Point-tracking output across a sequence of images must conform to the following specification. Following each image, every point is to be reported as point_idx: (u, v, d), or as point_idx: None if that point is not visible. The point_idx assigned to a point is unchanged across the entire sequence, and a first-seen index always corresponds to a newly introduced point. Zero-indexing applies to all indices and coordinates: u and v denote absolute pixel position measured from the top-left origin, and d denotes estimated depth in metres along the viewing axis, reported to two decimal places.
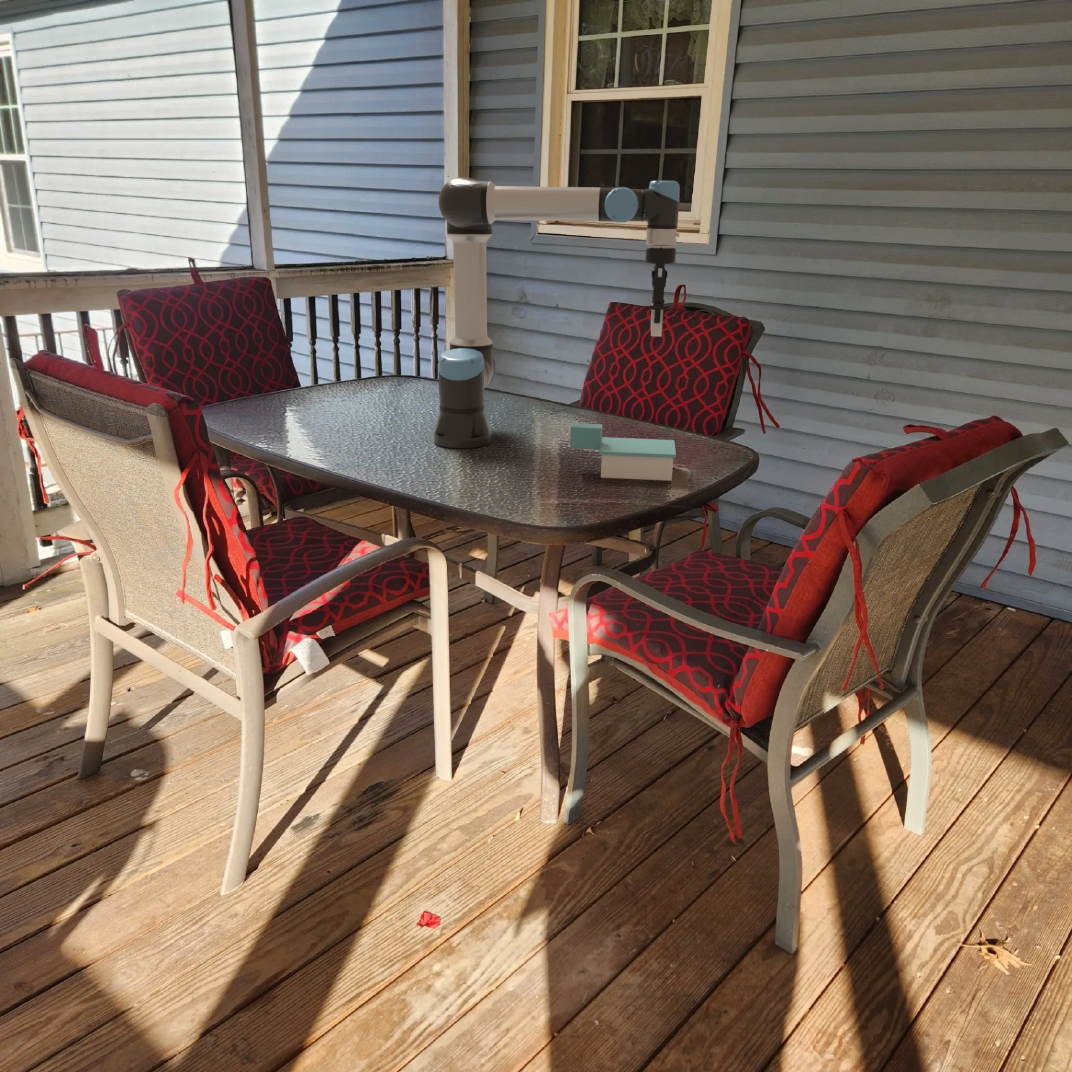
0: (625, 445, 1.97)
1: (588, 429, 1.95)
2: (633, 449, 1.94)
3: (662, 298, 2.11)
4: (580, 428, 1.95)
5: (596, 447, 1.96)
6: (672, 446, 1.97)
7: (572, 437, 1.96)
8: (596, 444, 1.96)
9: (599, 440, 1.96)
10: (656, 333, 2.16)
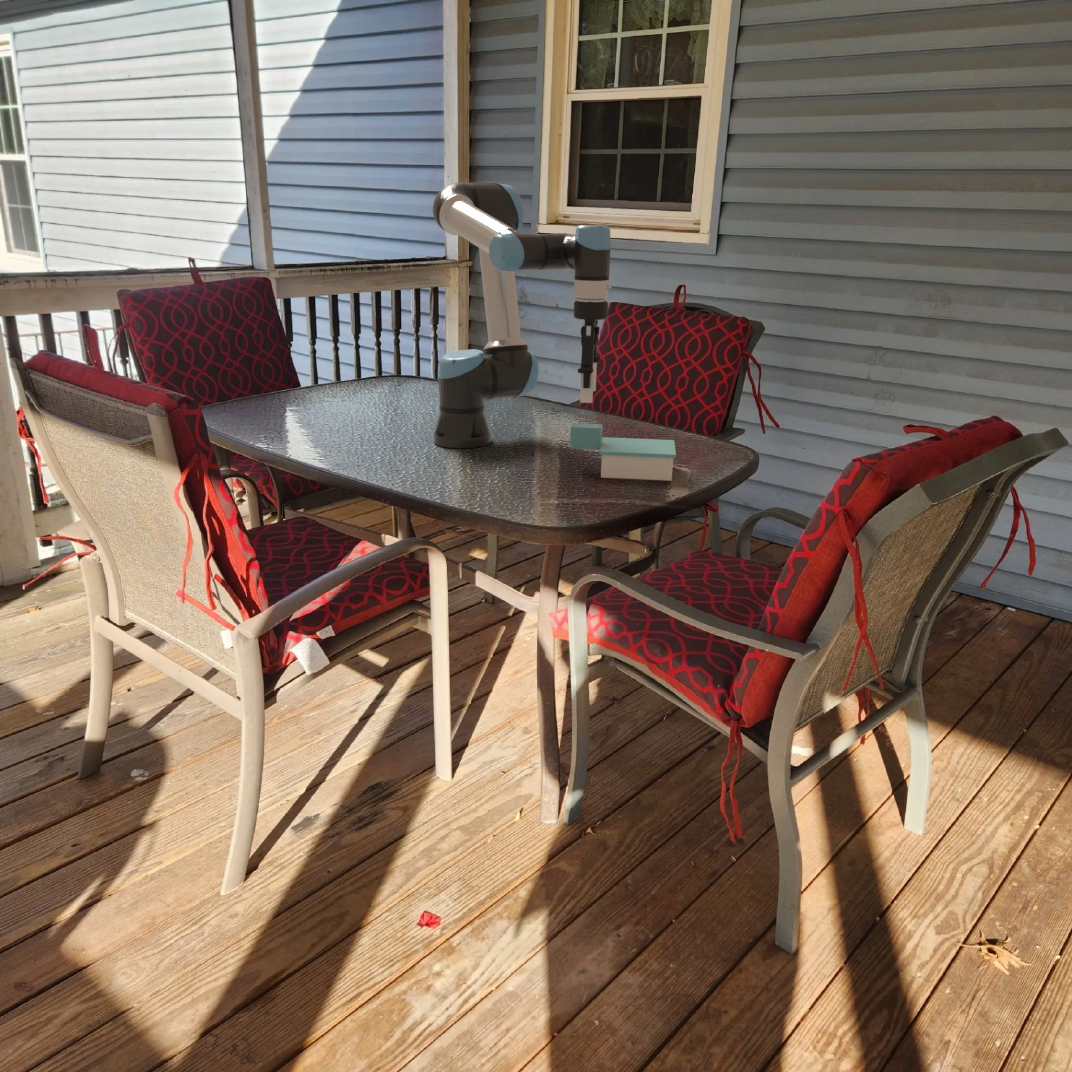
0: (625, 445, 1.97)
1: (588, 429, 1.95)
2: (633, 449, 1.94)
3: (591, 360, 1.82)
4: (580, 428, 1.95)
5: (596, 447, 1.96)
6: (672, 446, 1.97)
7: (572, 437, 1.96)
8: (596, 444, 1.96)
9: (599, 440, 1.96)
10: (586, 399, 1.87)
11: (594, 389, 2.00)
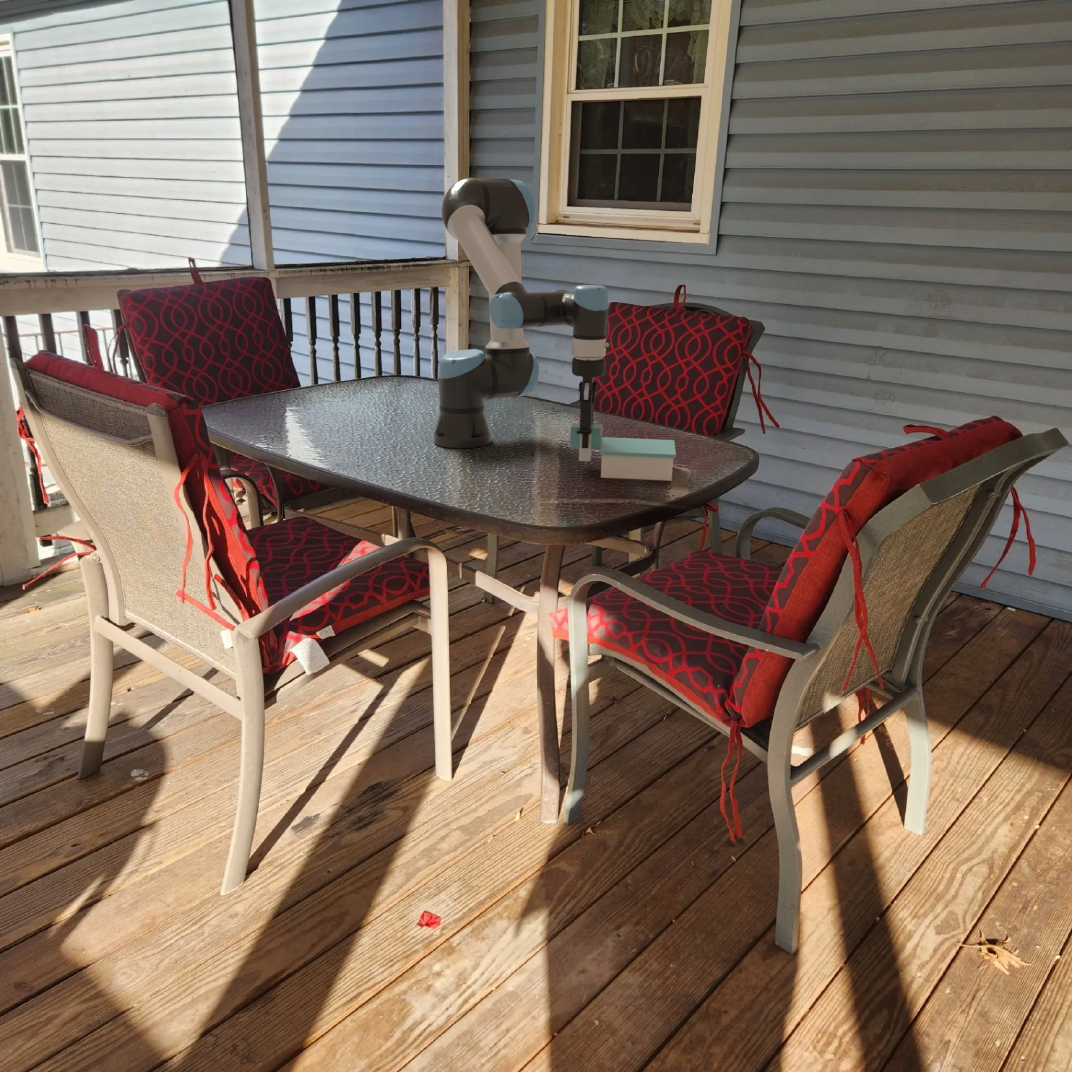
0: (625, 445, 1.97)
1: None
2: (633, 449, 1.94)
3: (589, 424, 1.91)
4: None
5: (596, 447, 1.96)
6: (672, 446, 1.97)
7: (572, 437, 1.96)
8: (596, 443, 1.96)
9: (599, 440, 1.96)
10: (585, 458, 1.97)
11: (590, 454, 2.01)
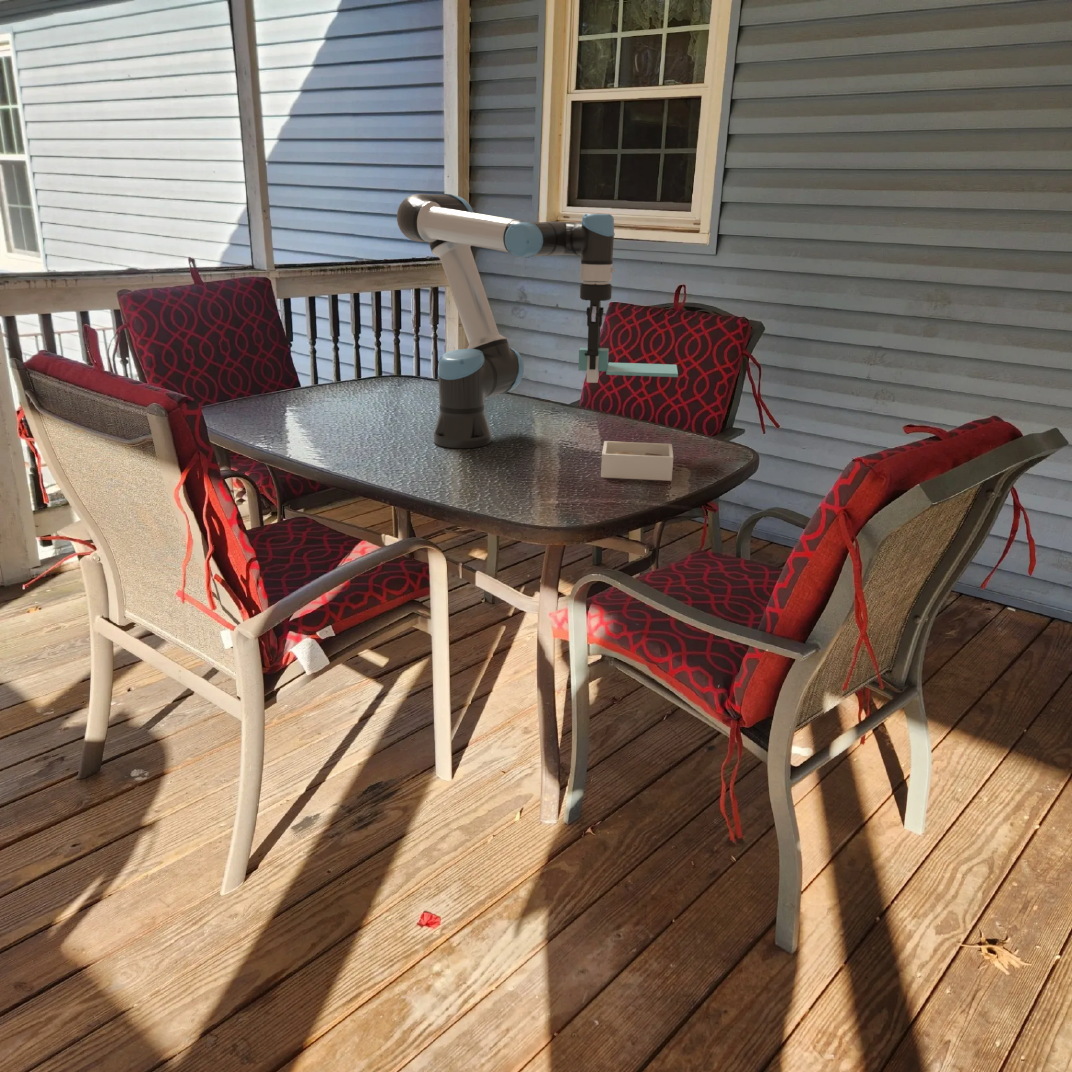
0: (630, 367, 2.09)
1: None
2: (638, 370, 2.06)
3: (596, 345, 2.03)
4: None
5: (603, 369, 2.09)
6: (674, 368, 2.09)
7: (580, 359, 2.09)
8: (602, 366, 2.08)
9: (606, 362, 2.08)
10: (592, 379, 2.09)
11: None
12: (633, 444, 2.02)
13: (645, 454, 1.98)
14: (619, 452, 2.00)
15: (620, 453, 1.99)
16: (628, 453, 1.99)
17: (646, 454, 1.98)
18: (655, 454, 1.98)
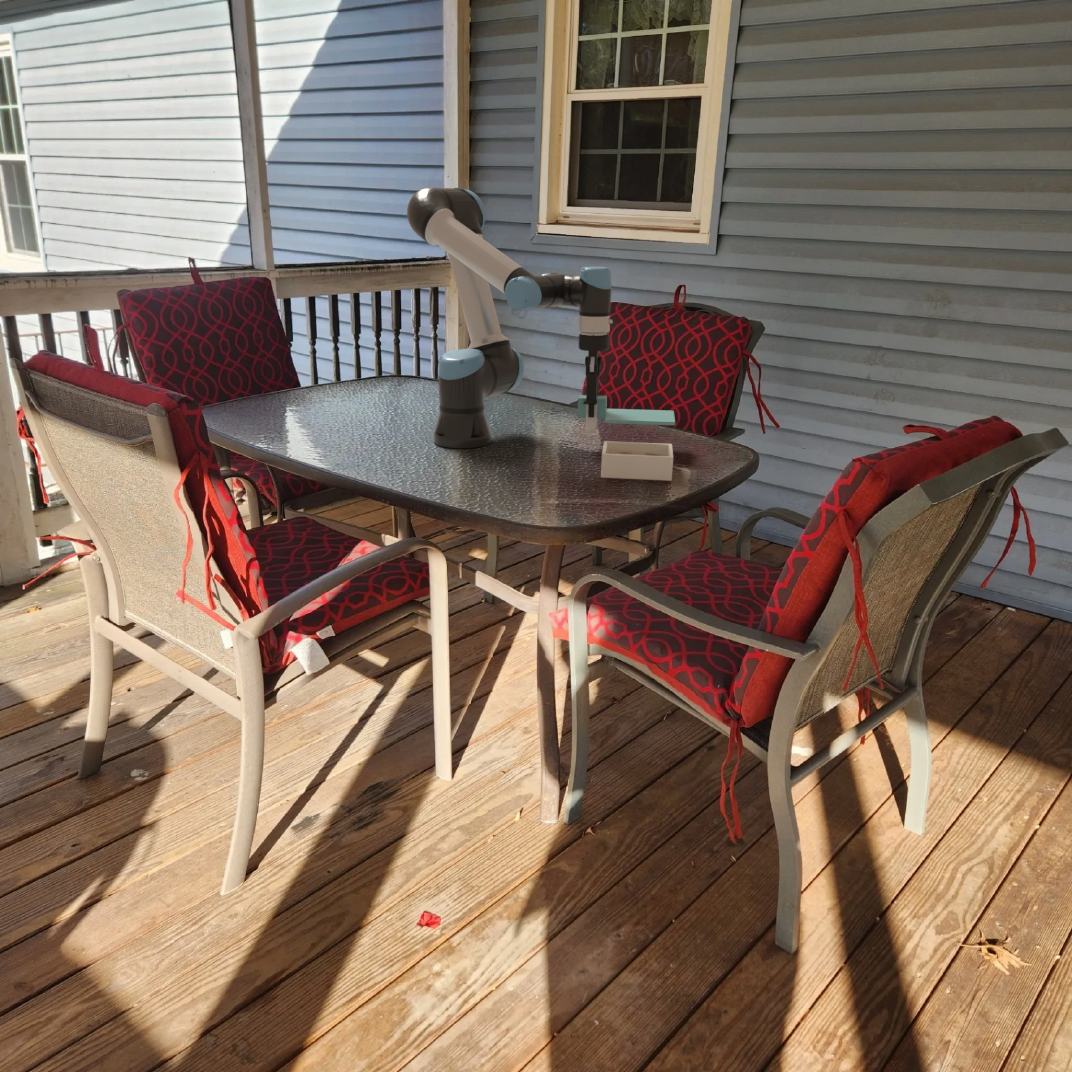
0: (628, 415, 2.14)
1: None
2: (635, 418, 2.10)
3: (595, 395, 2.07)
4: None
5: (601, 416, 2.13)
6: (671, 415, 2.13)
7: (579, 407, 2.13)
8: (601, 413, 2.13)
9: (604, 410, 2.12)
10: (591, 427, 2.13)
11: None
12: (633, 444, 2.02)
13: (645, 454, 1.98)
14: (619, 452, 2.00)
15: (620, 453, 1.99)
16: (628, 453, 1.99)
17: (646, 454, 1.98)
18: (655, 454, 1.98)
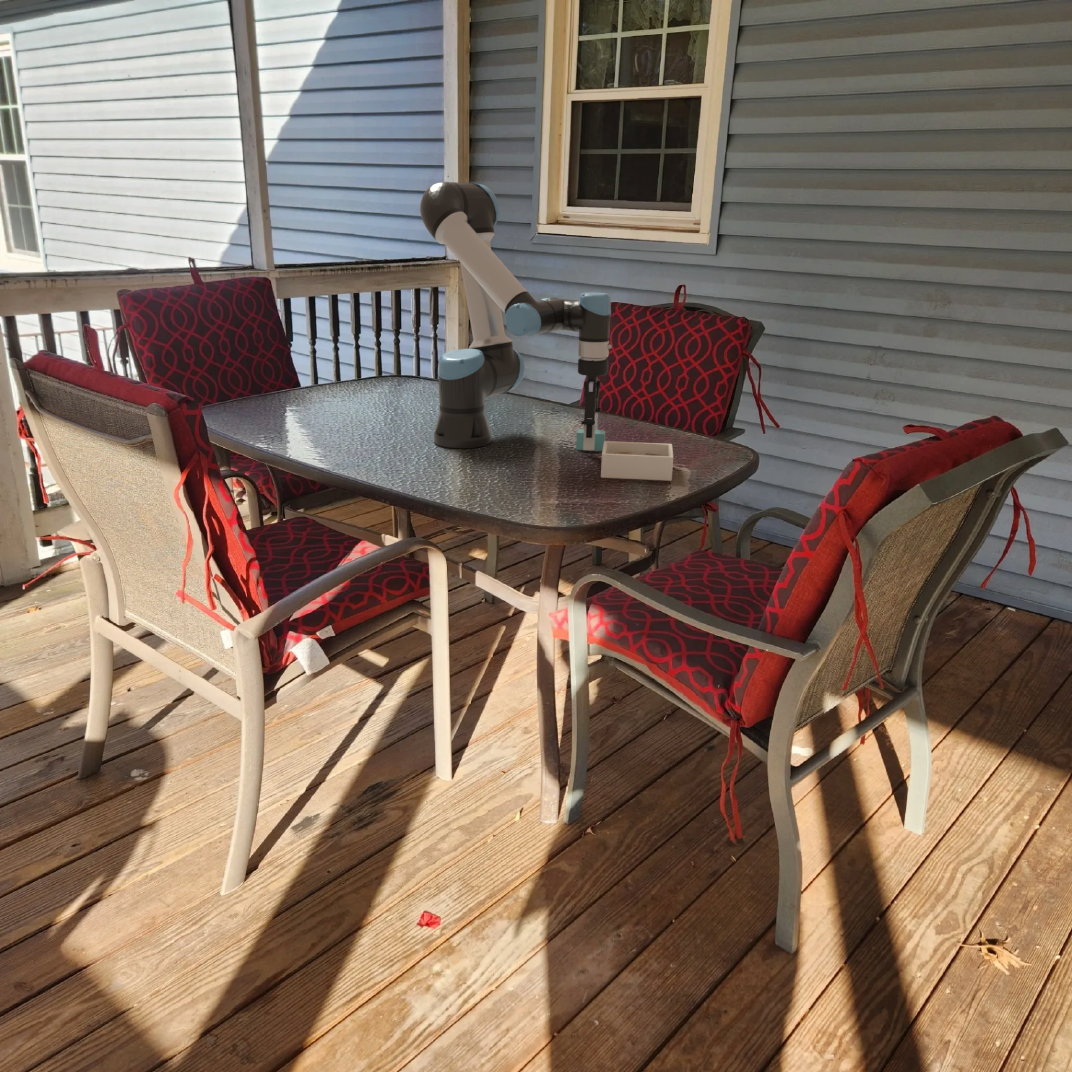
0: None
1: None
2: None
3: (593, 414, 2.06)
4: None
5: None
6: None
7: (578, 442, 2.16)
8: (599, 448, 2.16)
9: (602, 445, 2.15)
10: (589, 447, 2.11)
11: None
12: (633, 444, 2.02)
13: (645, 454, 1.98)
14: (619, 452, 2.00)
15: (620, 453, 1.99)
16: (628, 453, 1.99)
17: (646, 454, 1.98)
18: (655, 454, 1.98)
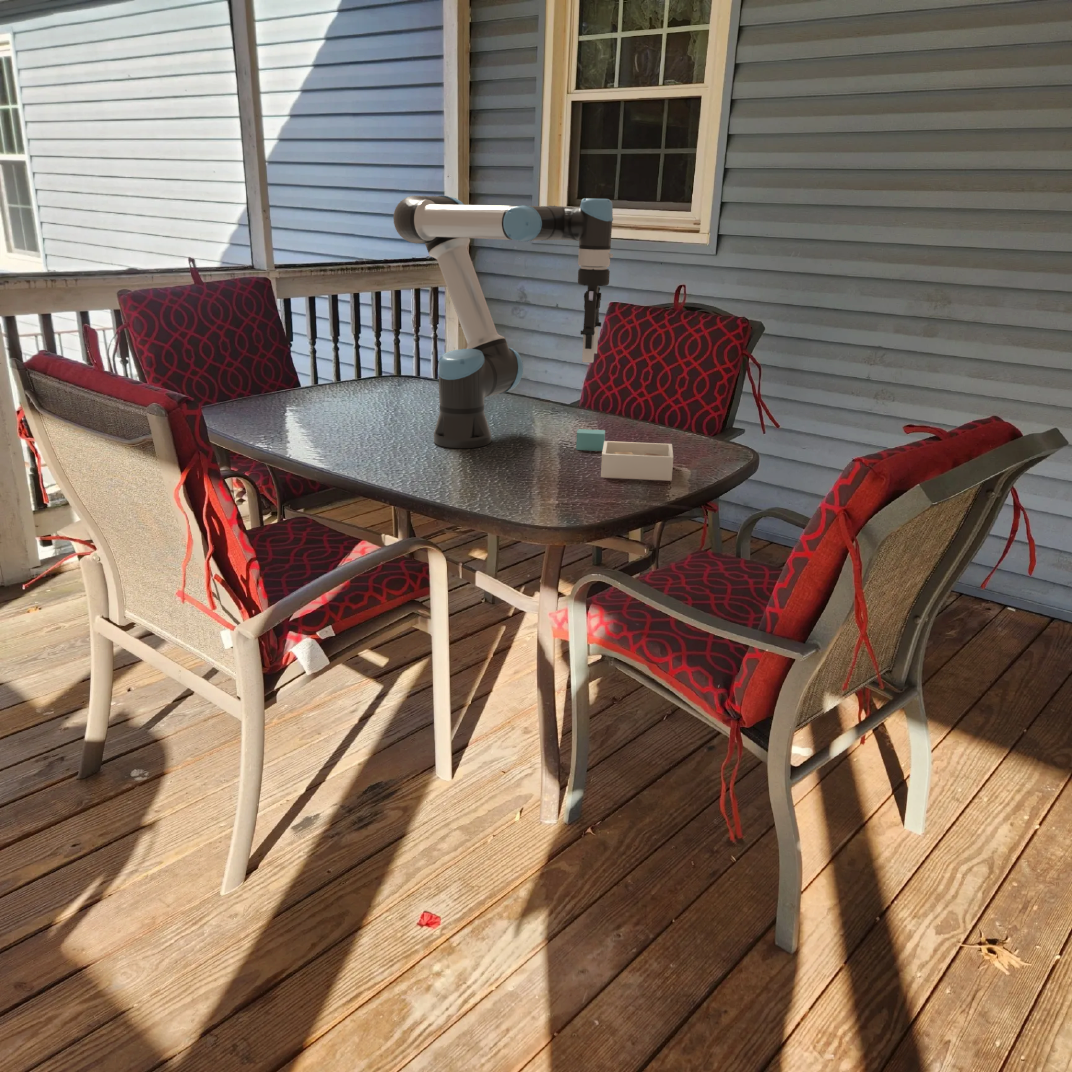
0: None
1: (592, 435, 2.15)
2: None
3: (592, 323, 1.99)
4: (585, 434, 2.15)
5: None
6: None
7: (578, 442, 2.16)
8: (599, 448, 2.16)
9: (602, 445, 2.15)
10: (588, 359, 2.04)
11: (595, 352, 2.17)
12: (633, 444, 2.02)
13: (645, 454, 1.98)
14: (619, 452, 2.00)
15: (620, 453, 1.99)
16: (628, 453, 1.99)
17: (646, 454, 1.98)
18: (655, 454, 1.98)
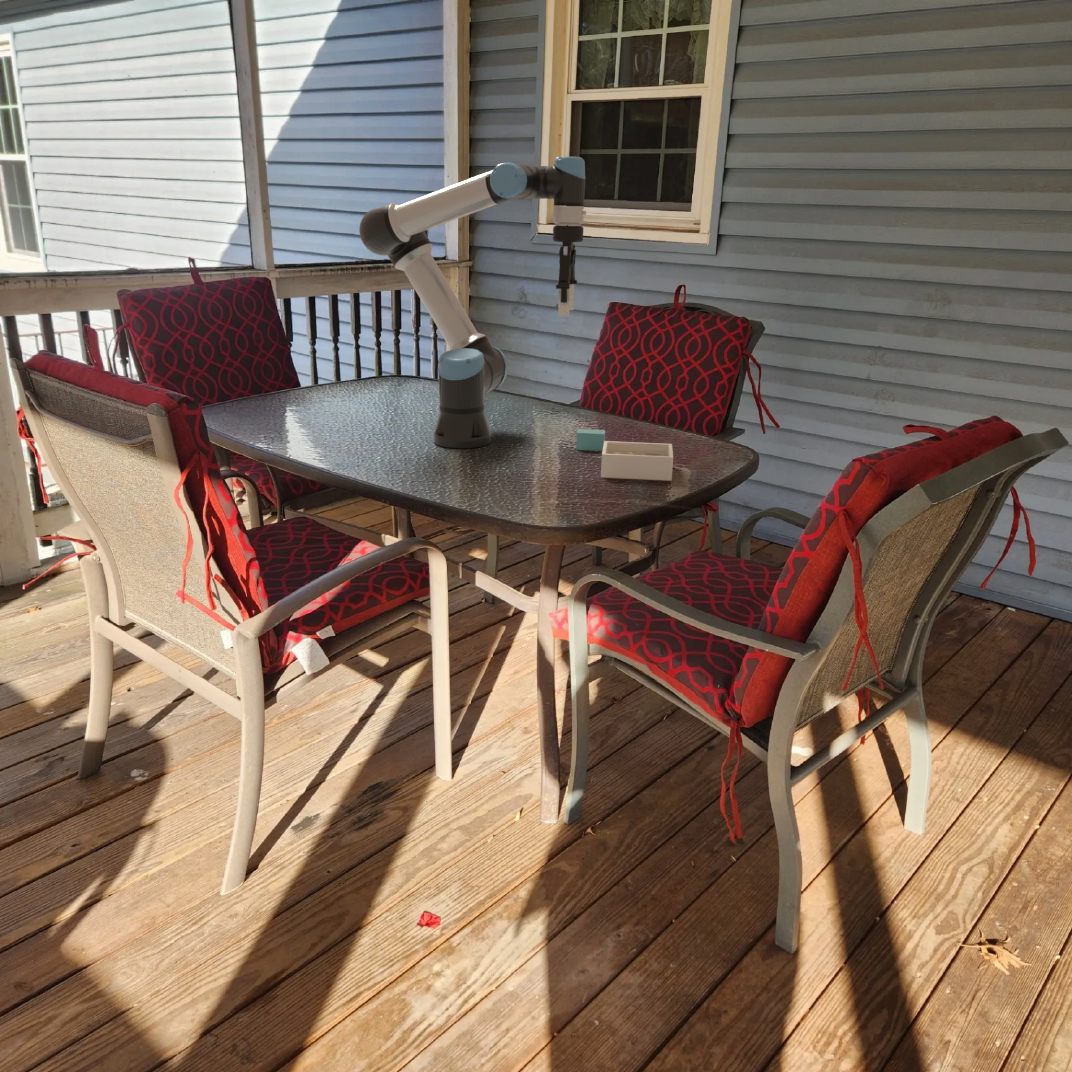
0: None
1: (592, 435, 2.15)
2: None
3: (567, 277, 2.07)
4: (585, 434, 2.15)
5: None
6: None
7: (578, 442, 2.16)
8: (599, 448, 2.16)
9: (602, 445, 2.15)
10: (564, 313, 2.12)
11: (572, 308, 2.24)
12: (633, 444, 2.02)
13: (645, 454, 1.98)
14: (619, 452, 2.00)
15: (620, 453, 1.99)
16: (628, 453, 1.99)
17: (646, 454, 1.98)
18: (655, 454, 1.98)
